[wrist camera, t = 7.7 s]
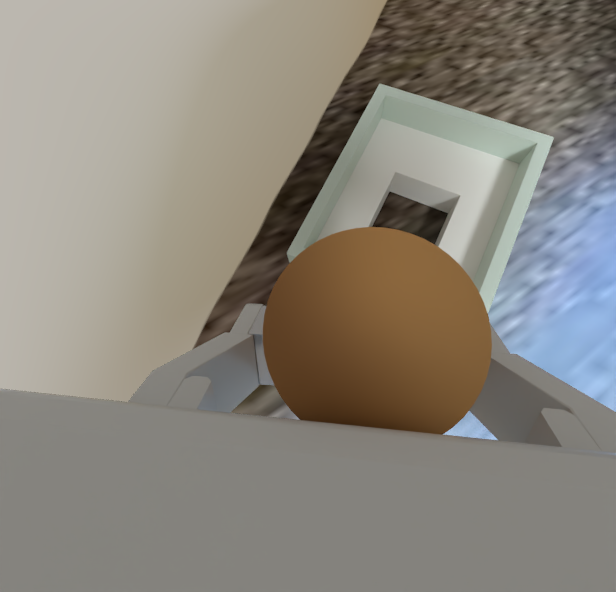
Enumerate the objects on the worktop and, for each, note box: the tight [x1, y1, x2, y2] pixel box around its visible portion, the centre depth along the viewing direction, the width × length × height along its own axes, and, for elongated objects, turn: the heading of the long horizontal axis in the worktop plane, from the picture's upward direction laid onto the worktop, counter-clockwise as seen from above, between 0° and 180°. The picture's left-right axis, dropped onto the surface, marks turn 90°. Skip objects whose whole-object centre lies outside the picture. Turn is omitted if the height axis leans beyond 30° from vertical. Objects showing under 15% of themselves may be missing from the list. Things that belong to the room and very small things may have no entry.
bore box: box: [286, 84, 554, 314], centre depth 27 cm, size 18×15×6 cm
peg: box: [263, 227, 492, 435], centre depth 10 cm, size 4×4×10 cm
